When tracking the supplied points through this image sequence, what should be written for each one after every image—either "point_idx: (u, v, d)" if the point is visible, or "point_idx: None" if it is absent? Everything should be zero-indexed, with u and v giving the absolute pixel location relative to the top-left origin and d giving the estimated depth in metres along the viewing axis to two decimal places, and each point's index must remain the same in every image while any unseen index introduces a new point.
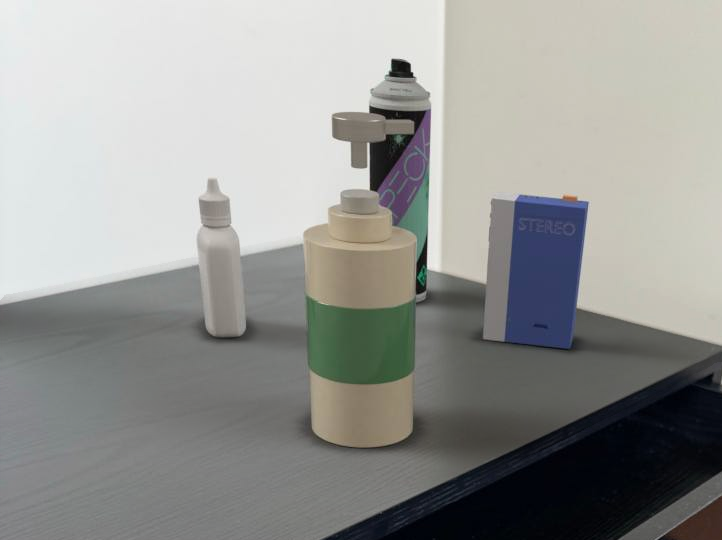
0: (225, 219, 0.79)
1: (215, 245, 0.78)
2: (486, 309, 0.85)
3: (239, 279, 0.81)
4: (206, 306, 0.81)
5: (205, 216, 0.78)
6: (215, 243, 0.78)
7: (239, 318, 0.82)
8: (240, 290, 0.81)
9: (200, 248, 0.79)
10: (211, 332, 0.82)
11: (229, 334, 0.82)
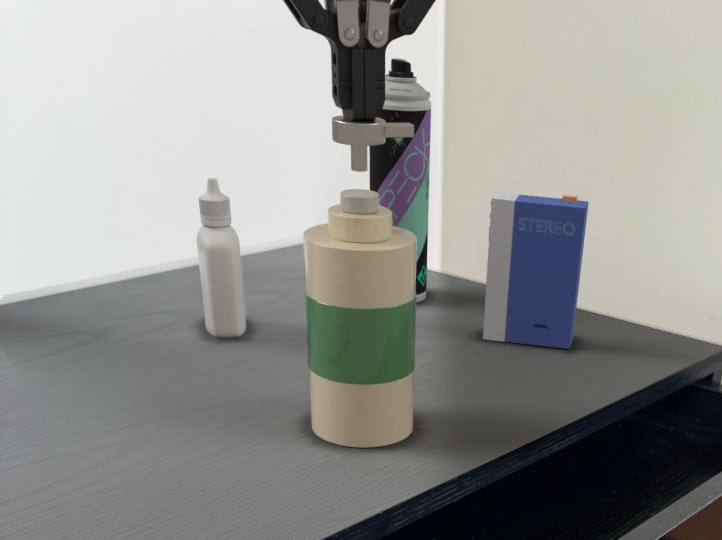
0: (225, 219, 0.79)
1: (216, 245, 0.78)
2: (486, 309, 0.85)
3: (239, 279, 0.81)
4: (206, 306, 0.81)
5: (205, 216, 0.78)
6: (215, 243, 0.78)
7: (239, 318, 0.82)
8: (240, 290, 0.81)
9: (200, 248, 0.79)
10: (211, 332, 0.82)
11: (229, 334, 0.82)
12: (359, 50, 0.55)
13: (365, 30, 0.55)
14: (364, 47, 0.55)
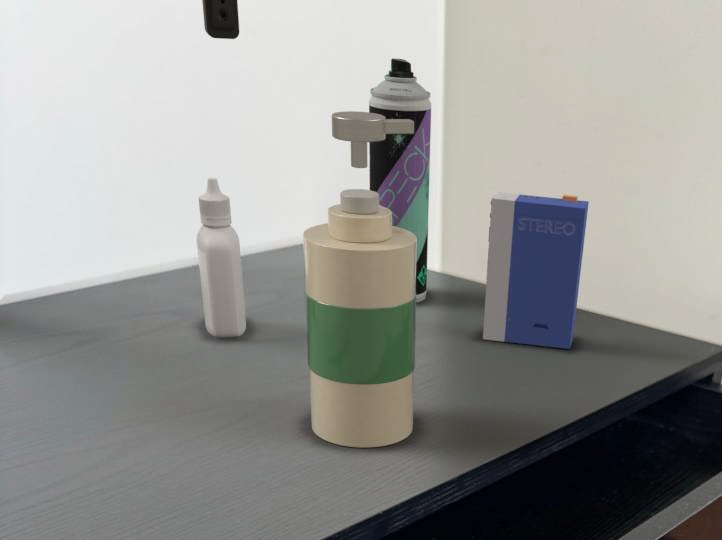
0: (225, 219, 0.79)
1: (216, 245, 0.78)
2: (486, 309, 0.85)
3: (239, 279, 0.81)
4: (206, 306, 0.81)
5: (205, 216, 0.78)
6: (215, 243, 0.78)
7: (239, 318, 0.82)
8: (240, 290, 0.81)
9: (200, 248, 0.79)
10: (211, 332, 0.82)
11: (229, 334, 0.82)
12: None
13: None
14: None
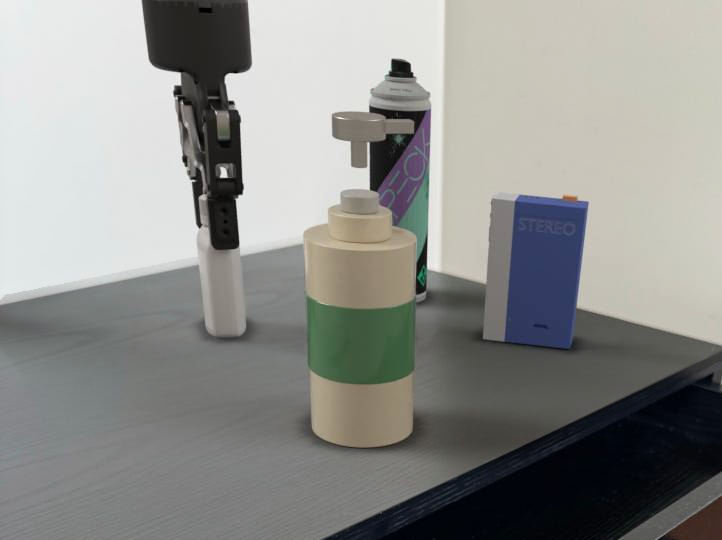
0: None
1: None
2: (486, 309, 0.85)
3: (239, 279, 0.81)
4: (206, 306, 0.81)
5: (205, 216, 0.78)
6: None
7: (239, 318, 0.82)
8: (240, 290, 0.81)
9: (200, 248, 0.79)
10: (211, 332, 0.82)
11: (229, 334, 0.82)
12: (234, 199, 0.76)
13: None
14: None
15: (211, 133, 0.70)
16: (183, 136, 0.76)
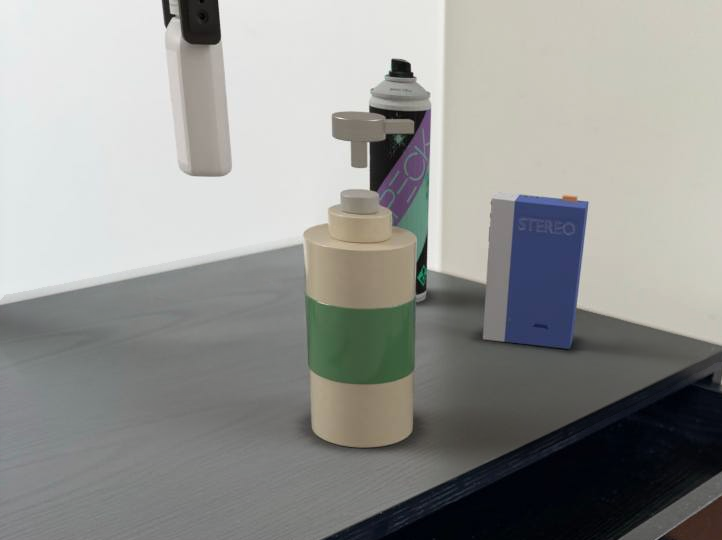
0: None
1: None
2: (486, 309, 0.85)
3: (222, 94, 0.61)
4: (178, 132, 0.61)
5: (176, 1, 0.58)
6: None
7: (222, 149, 0.62)
8: (223, 110, 0.61)
9: (169, 46, 0.59)
10: (185, 169, 0.62)
11: (209, 170, 0.62)
12: None
13: None
14: None
15: None
16: None
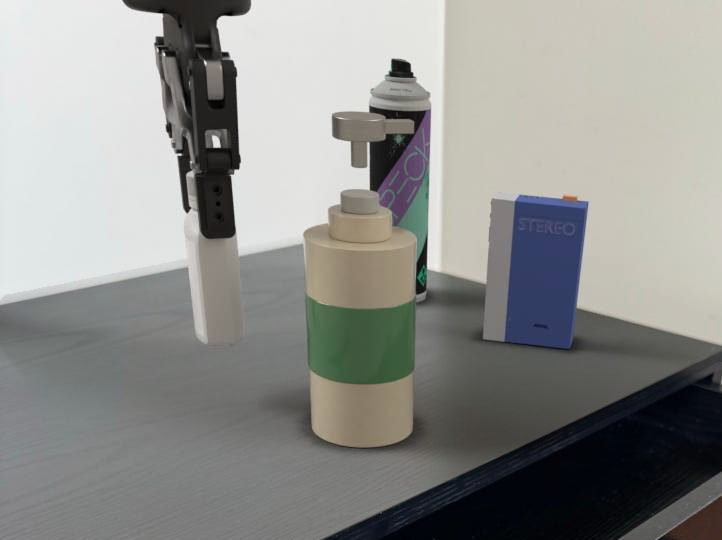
0: None
1: None
2: (486, 309, 0.85)
3: (236, 275, 0.66)
4: (196, 308, 0.67)
5: (194, 197, 0.63)
6: None
7: (235, 322, 0.67)
8: (237, 288, 0.67)
9: (188, 237, 0.64)
10: (202, 340, 0.68)
11: (224, 341, 0.67)
12: (229, 176, 0.62)
13: None
14: None
15: (199, 89, 0.55)
16: (166, 98, 0.62)
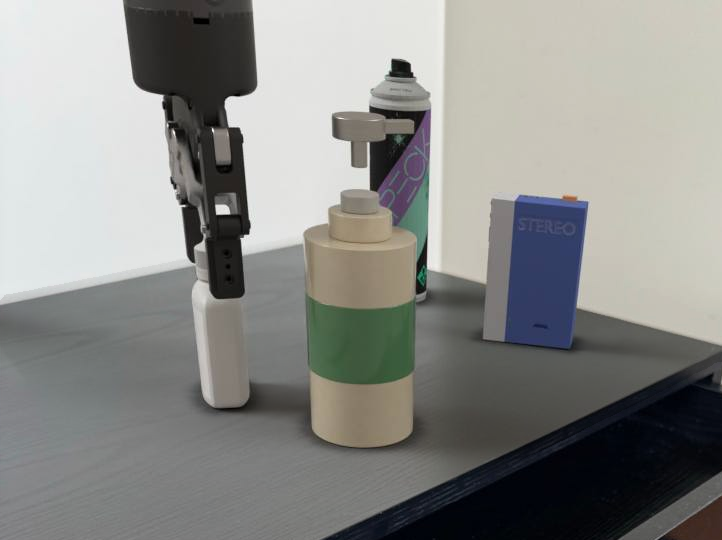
0: None
1: (214, 303, 0.66)
2: (486, 309, 0.85)
3: (242, 341, 0.69)
4: (203, 372, 0.69)
5: (202, 269, 0.66)
6: (213, 302, 0.66)
7: (241, 386, 0.70)
8: (243, 354, 0.69)
9: (196, 307, 0.67)
10: (209, 402, 0.70)
11: (230, 404, 0.70)
12: (239, 238, 0.63)
13: None
14: None
15: (207, 154, 0.57)
16: (173, 165, 0.64)
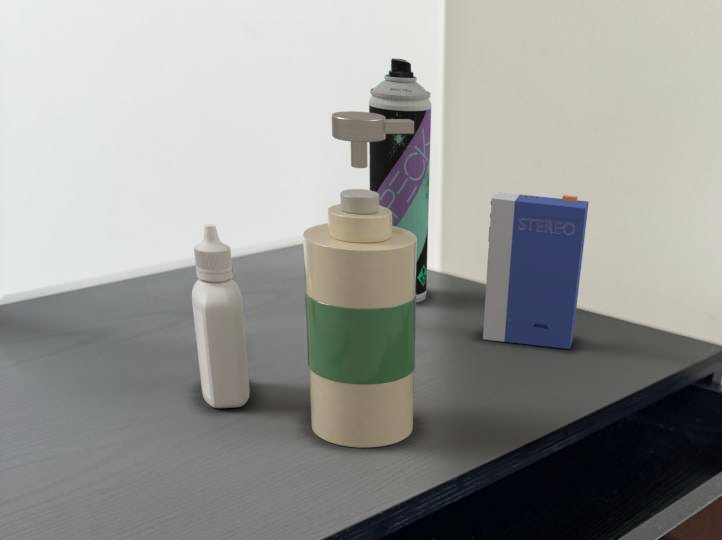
0: (225, 273, 0.67)
1: (214, 303, 0.66)
2: (486, 309, 0.85)
3: (242, 341, 0.69)
4: (203, 372, 0.69)
5: (202, 269, 0.66)
6: (213, 302, 0.66)
7: (241, 386, 0.70)
8: (243, 354, 0.69)
9: (196, 307, 0.67)
10: (209, 402, 0.70)
11: (230, 404, 0.70)
12: None
13: None
14: None
15: None
16: None
